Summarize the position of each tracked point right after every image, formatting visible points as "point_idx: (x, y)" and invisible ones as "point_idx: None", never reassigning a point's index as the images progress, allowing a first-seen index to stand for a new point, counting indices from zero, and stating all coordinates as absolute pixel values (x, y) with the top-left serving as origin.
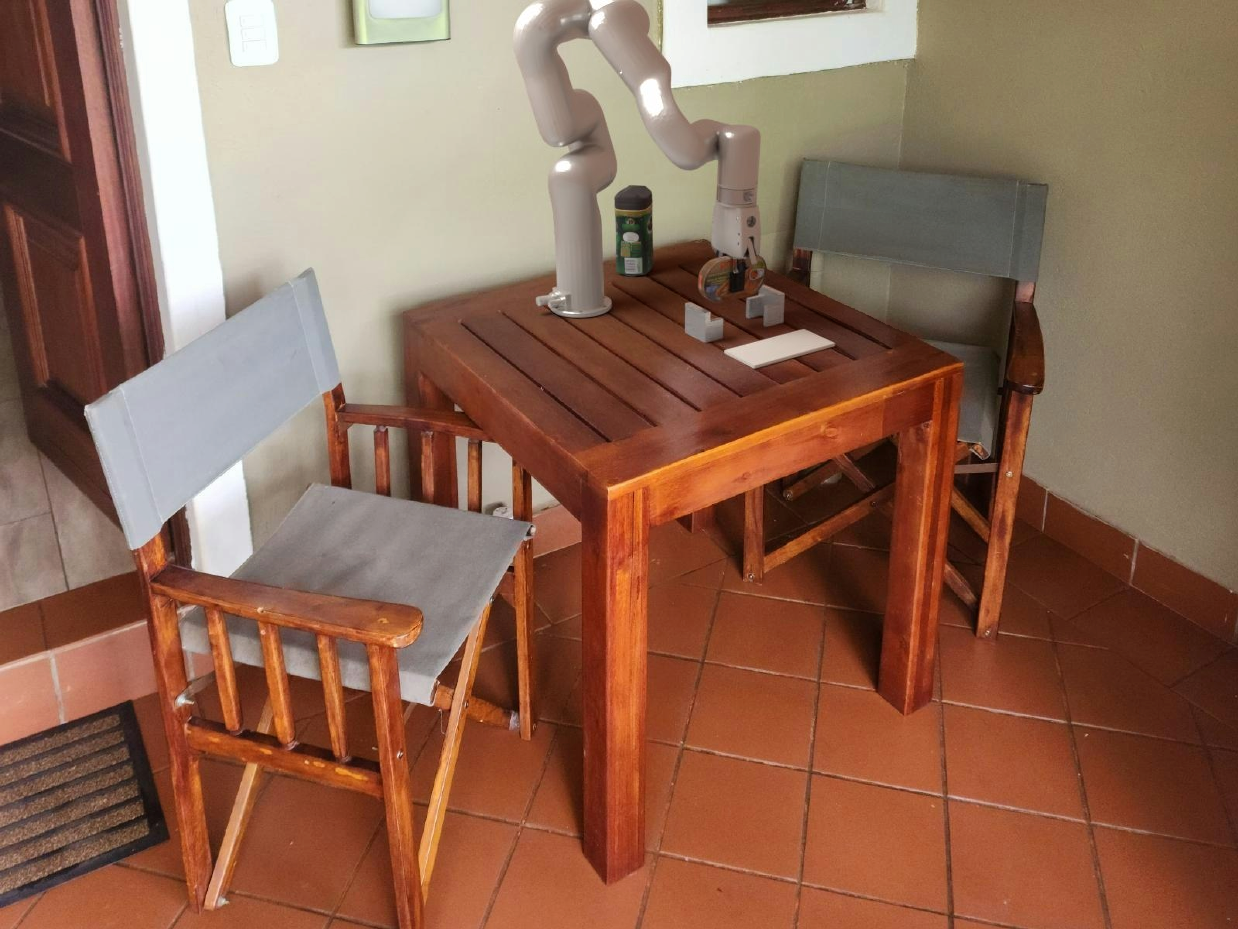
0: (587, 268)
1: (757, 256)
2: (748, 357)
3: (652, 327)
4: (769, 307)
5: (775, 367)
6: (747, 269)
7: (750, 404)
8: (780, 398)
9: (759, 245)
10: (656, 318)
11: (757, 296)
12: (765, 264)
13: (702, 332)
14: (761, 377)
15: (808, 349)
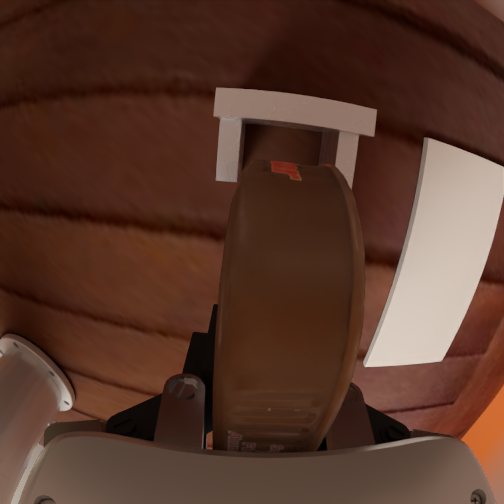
0: (32, 445)
1: (340, 310)
2: (419, 351)
3: (153, 373)
4: (351, 183)
5: (464, 328)
6: (360, 393)
7: (466, 401)
8: (491, 371)
9: (488, 496)
10: (111, 340)
11: (231, 133)
12: (346, 191)
13: None
14: (458, 362)
15: (490, 238)
